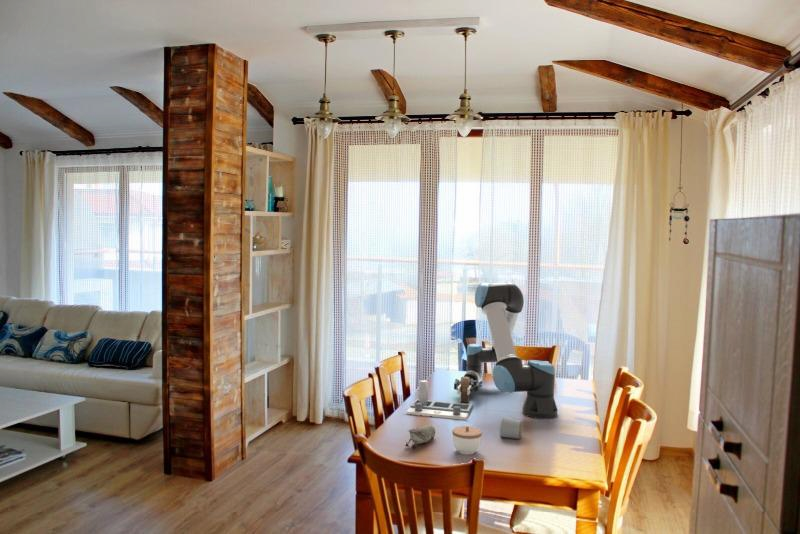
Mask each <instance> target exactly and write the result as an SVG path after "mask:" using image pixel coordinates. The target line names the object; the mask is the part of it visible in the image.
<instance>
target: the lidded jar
mask: <svg viewBox="0 0 800 534" xmlns="http://www.w3.org/2000/svg"><path fill="white" fill-rule="evenodd" d="M451 431H452V443H453V446H454V448H455V449H456V450H457V451H458V453H459V454H460V455H461V454H462V455H467V456H468V455H473V454H475V453H476V452H477V451H478V450H479V448H480V447H481V444H482V437H483V436H482V435H483V431H482V430H481V429H480V428H478V427H474V426H470V425H461V426H456V427H454V428H453V429H452V430H451Z"/></svg>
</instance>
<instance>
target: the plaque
mask: <svg viewBox="0 0 800 534" xmlns="http://www.w3.org/2000/svg"><path fill="white" fill-rule="evenodd" d="M410 414H412V415H413V416H420V415H422V416H423V417H430V416H432V417H433V418H441V419H443V418H444V419H453V420H461V421H467V420H468V417H469V416H468V413H461V407H459V406H454V407H453V412H451V411H441V410H430V409H422V403H415V408H410V407H409V408H408V409H407V411H406V415H410ZM412 415H411V416H412ZM422 416H421V417H422Z"/></svg>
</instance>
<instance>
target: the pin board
mask: <svg viewBox="0 0 800 534" xmlns="http://www.w3.org/2000/svg"><path fill="white" fill-rule="evenodd" d="M428 396H429V381H428V380H426V379H425V380H424V379H423V380H418V398H416V399H415V400H414V401H413V402H412V403H411V404H410V405H409V408H415V403H422V409H430V410H441V411H451V412H453V407H454V406H459V407H461V413H468V415H470V413H471V412H472V410H473V403H469V404H465V403H460V402H452V401H441V400H429V399H428V398H429V397H428ZM427 405H428V406H427Z"/></svg>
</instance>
